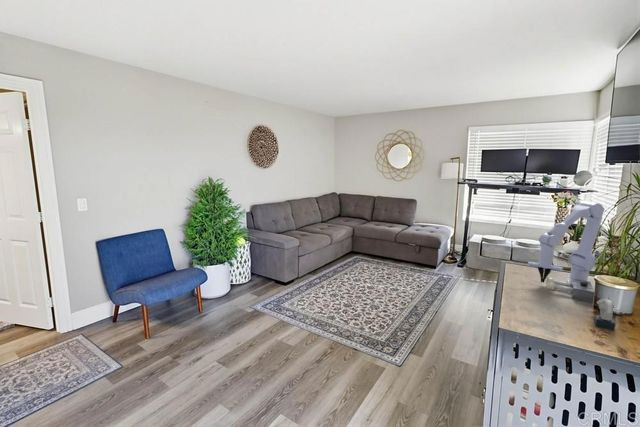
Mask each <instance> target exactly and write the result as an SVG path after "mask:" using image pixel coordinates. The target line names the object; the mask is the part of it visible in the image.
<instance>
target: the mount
mask: <svg viewBox="0 0 640 427" xmlns="http://www.w3.org/2000/svg"><path fill="white" fill-rule="evenodd" d="M570 283H572V285H571V287H570V288H573V292H569V293H570V295H571V299H572V300H576V301H580V302H586V303H590V304H594V299H595V293H596V291H595V289H594V287H593V285H592V283H591V281H590V280H589V281H588V280H587V281H584V280H578V279H573V278H571V282H570Z"/></svg>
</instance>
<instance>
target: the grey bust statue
mask: <svg viewBox="0 0 640 427" xmlns="http://www.w3.org/2000/svg"><path fill="white" fill-rule="evenodd" d="M608 299H609V298H602V299H598V301H596V304H597V305H598V309H599V310H600V312H599V313H600V315H597V314H594V318H593V324H594V327H596V328H600V329H603V330H609V331H613V332H615V328H616V321H615V319H614V318H613V308H614V302H613V301H611V300H608Z"/></svg>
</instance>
